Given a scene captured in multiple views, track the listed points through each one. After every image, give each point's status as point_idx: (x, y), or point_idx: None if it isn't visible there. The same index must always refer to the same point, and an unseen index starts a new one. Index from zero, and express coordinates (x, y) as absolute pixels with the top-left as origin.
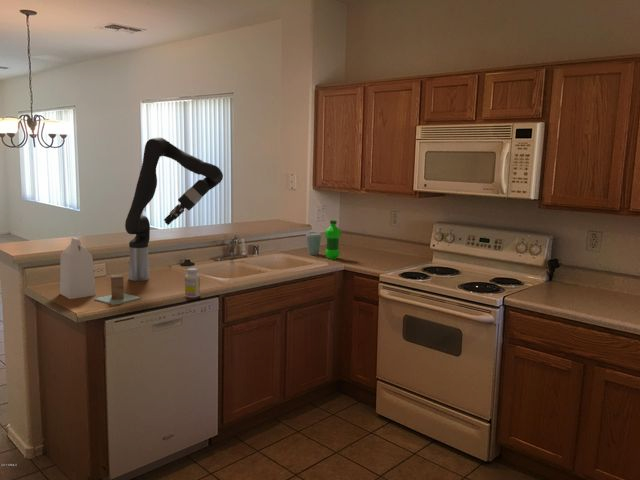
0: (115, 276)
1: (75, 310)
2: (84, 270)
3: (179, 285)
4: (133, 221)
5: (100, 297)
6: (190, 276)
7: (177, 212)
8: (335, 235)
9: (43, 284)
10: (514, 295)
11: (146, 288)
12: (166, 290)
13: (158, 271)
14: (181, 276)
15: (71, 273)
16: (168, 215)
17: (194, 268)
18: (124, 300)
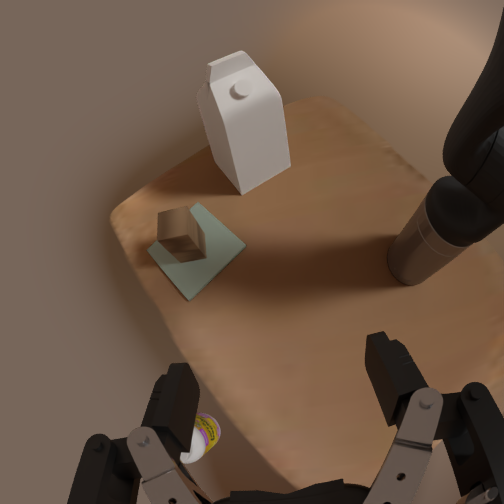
0: (169, 219)
1: (134, 196)
2: (219, 140)
3: (337, 390)
4: (456, 126)
5: (204, 211)
6: None
7: (85, 499)
8: None
9: (333, 102)
10: None
11: (304, 300)
12: (275, 360)
13: (490, 291)
14: (446, 370)
15: (206, 127)
16: (392, 385)
17: (182, 458)
18: (168, 267)
